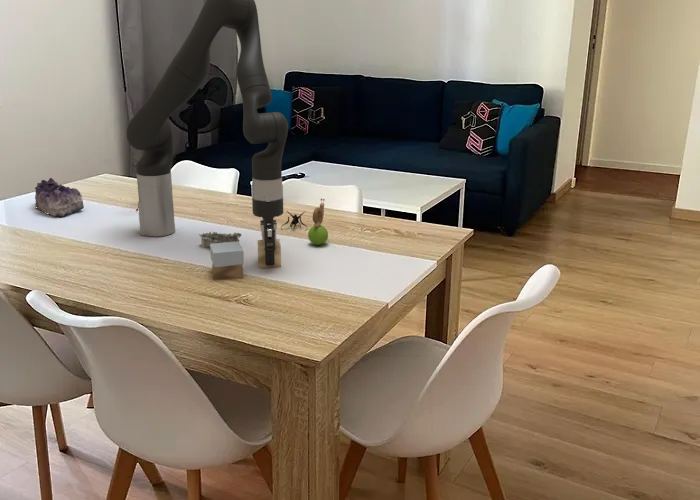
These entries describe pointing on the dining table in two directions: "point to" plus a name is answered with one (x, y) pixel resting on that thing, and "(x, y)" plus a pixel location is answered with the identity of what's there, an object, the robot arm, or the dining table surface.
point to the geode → (57, 198)
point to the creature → (294, 221)
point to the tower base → (227, 272)
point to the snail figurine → (318, 227)
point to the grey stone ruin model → (218, 238)
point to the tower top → (226, 254)
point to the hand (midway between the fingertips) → (269, 260)
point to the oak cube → (262, 254)
